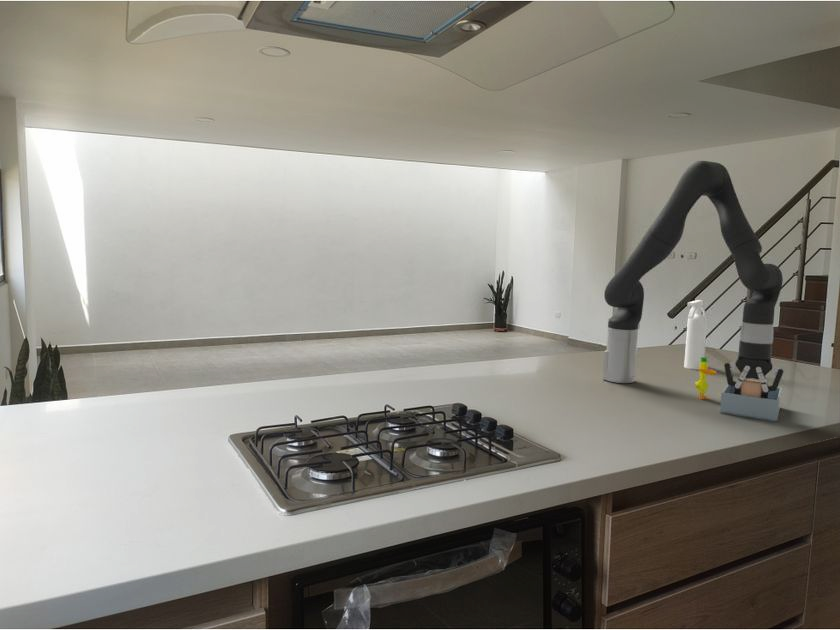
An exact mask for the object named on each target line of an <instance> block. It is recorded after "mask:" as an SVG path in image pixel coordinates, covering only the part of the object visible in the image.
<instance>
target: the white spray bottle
mask: <svg viewBox="0 0 840 630" xmlns="http://www.w3.org/2000/svg"><path fill="white" fill-rule="evenodd" d="M703 305H704V301H703V300H702V299H696V300H692V301H688V302H687V305H686V306H690V307H691V308H690V309H689V312H688V315H687V327H686V337H685V339H686V340H685V351H684V363H683V364H684V365H683V367H684V368H685V369H689V370H697V371H698V369H699V367H700V362H701V357H705V354H706V353H705V351H706V340H707V339H706V338H707V337H706V336H707V326H708V318H707V316H706V310H705V309H704V308H703V307H702V306H703Z"/></svg>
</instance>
